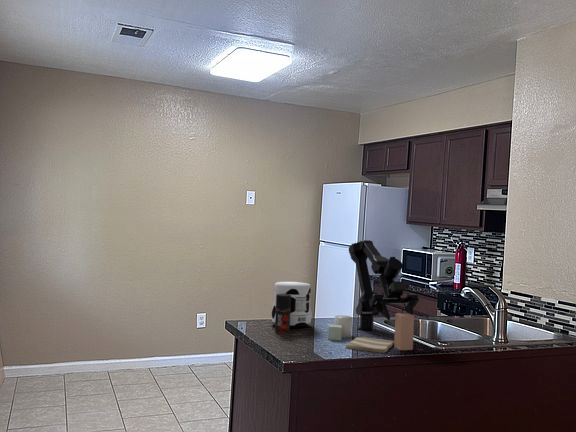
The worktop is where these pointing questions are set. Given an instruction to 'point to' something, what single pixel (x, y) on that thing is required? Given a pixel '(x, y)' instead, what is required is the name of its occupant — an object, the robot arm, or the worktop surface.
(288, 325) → the deodorant
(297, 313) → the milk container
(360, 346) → the board
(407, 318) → the tan rectangular block
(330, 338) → the block
